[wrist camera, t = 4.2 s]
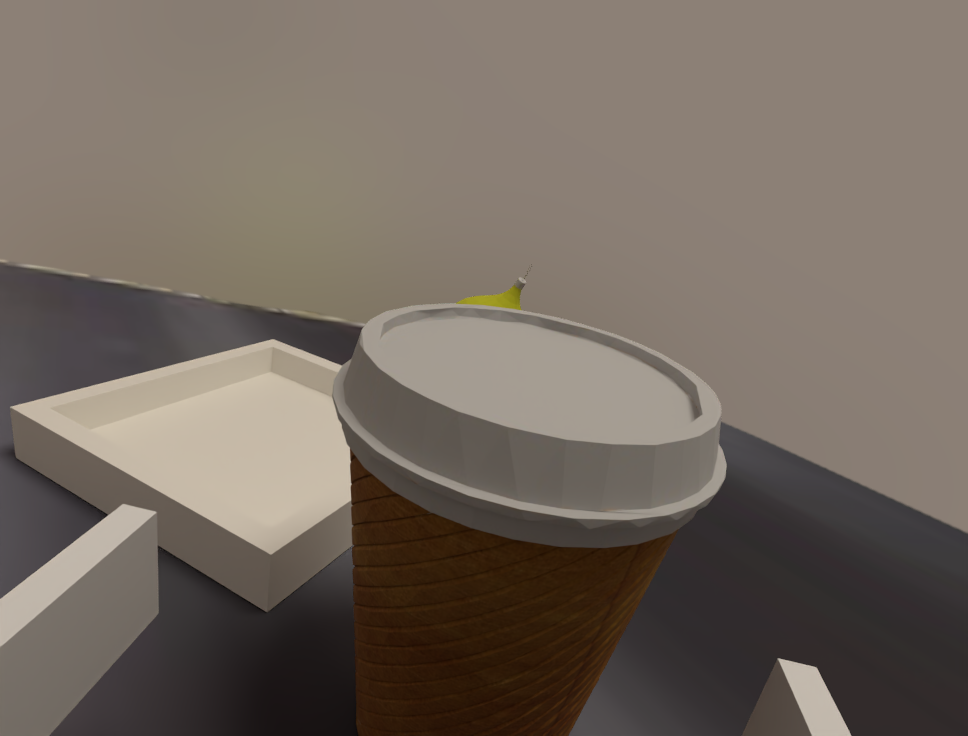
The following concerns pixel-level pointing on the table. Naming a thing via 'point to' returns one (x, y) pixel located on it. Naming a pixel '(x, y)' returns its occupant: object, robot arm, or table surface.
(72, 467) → the square tray
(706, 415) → the disposable coffee cup
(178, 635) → the table surface
